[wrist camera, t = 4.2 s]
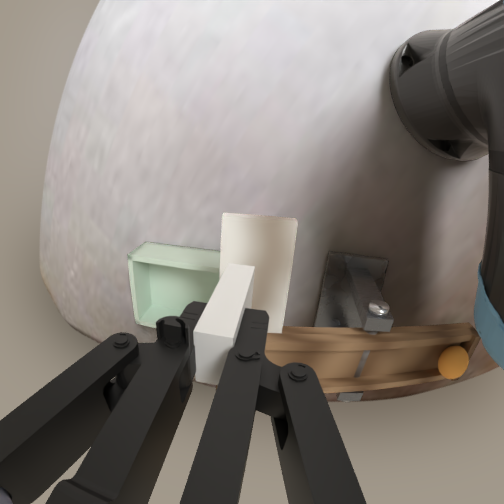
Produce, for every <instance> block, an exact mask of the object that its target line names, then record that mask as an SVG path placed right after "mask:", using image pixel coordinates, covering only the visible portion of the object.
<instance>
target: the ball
mask: <svg viewBox="0 0 504 504" xmlns="http://www.w3.org/2000/svg"><path fill="white" fill-rule="evenodd" d="M468 363H469V357H468V354H467V352H466V350H465V349H464V348H462V347H461V346H456V345H454V346H450V347H448V348H446V349H445V350H444V351H443V352H442V353H441V355H440V357H439V360H438V369H439V372H440V373H441V375H442V376H444V377H445V378H448V379H455V378H458V377H460V376H461V375H462V374H463V373H464V372H465V371H466V369H467V367H468Z"/></svg>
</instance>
